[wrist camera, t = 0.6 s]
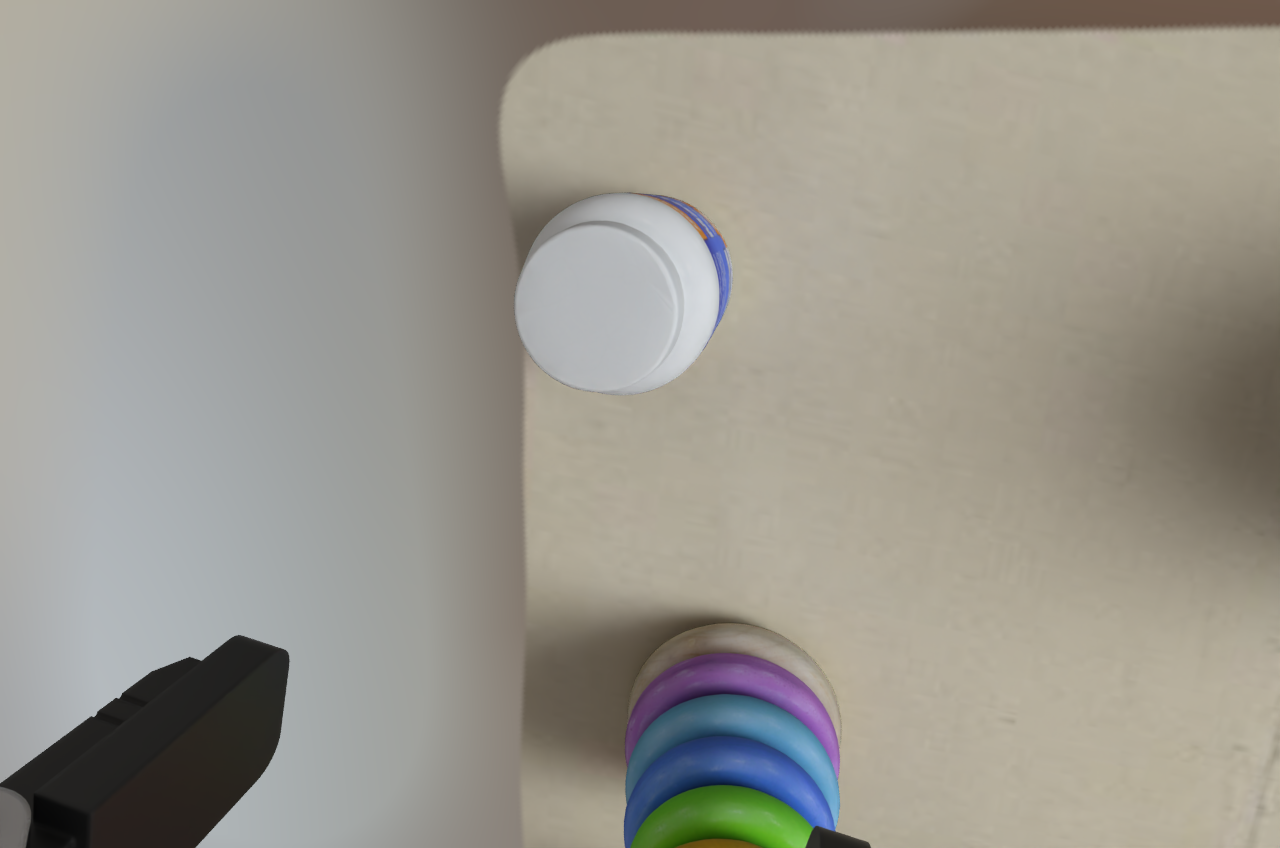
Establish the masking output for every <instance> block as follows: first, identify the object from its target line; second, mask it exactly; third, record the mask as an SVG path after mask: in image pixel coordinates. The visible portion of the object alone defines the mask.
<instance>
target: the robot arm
mask: <svg viewBox="0 0 1280 848" xmlns="http://www.w3.org/2000/svg"><path fill="white" fill-rule="evenodd" d="M288 670H289V655H288V652H287V651H286V650H284V649H281V648H278V647H275V646H272V645H269V644H266V643H263V642H260V641H257V640H254V639H251V638H248V637H244V636H241V635H238V636H234V637H232V638H231V639H229V640H228V641H227V642H225V643H224V644H223V645H222V646H220V647H219V648H218V649H216V650H215V651H214V652H213V653H211V654H210V655H209V656H207V657H206V658H205V659H204V660H202V661H200V660H197V659H194V658H191V657H189V658H186V659H183V660H181V661H178V662H175V663H173V664H170V665H168V666H165V667H163V668H160V669H158V670H155V671H152V672H150V673H149V674H148V675H146V676H145V677H144V678H142V679H141V680H140V681H138V682H137V683H136V684H134V685H133V686H131V687H130V688H129V689H127V690H126V691H125V692H124V693H122V695H121V697H120V698H119V699H118V698H115V699H114V700H113V701H111V702H110V703H108V704H107V705H106V706H105V707H103V708H102V709H100V710H99V711H98V712H97V715H96V716H95V717H92V716H91V717H90V718H88V719H87V720H85V721H84V722H83V723H81V724H80V725H79V726H77V727H76V728H75V729H73V730H72V731H71V732H69V733H68V734H67V735H66V736H64V737H62V738H61V739H60V740H58V741H57V742H56V743H54V744H53V745H52V746H50V747H49V748H48V749H46V750H45V751H44V752H42V753H41V754H40V755H38V756H37V757H35V758H34V759H33V760H31V761H30V762H29V763H27V764H26V765H25V766H23V767H22V768H21V769H19V770H18V771H16V772H15V773H14V774H13V775H11V776H10V777H9V778H7V779H6V780H4V781H3V782H2V783H0V848H195V847H196V846H197V845H198V844H199V843H200V842H201V841H202V840H203V839H204V838H205V837H206V835H207V834H208V833H209V832H210V831H211V830H212V829H213V828H214V827H215V826H216V824H217V823H218V822H219V821H220V820H221V819H222V818H223V817H224V816H225V815H226V814H227V813H228V812H229V811H230V809H231V808H232V807H233V806H234V805H235V804H236V803H237V802H238V801H239V800H240V799H241V797H242V796H243V795H244V794H245V793H246V792H247V791H248V790H249V789H250V788H251V787H252V785H253V784H254V783H255V782H256V781H257V780H258V779H259V778H260V777H261V775H262V774H263V772H264V771H265V769H266V768H267V766H268V765H269V763H270V761H271V759H272V757H273V755H274V753H275V750H276V748H277V745H278V742H279V738H280V733H281V725H282V717H283V709H284V701H285V694H286V685H287V678H288ZM805 848H871V847H870V844H869V843H868V842H866V841H863V840H859V839H856V838H853V837H850V836H847V835H844V834H841V833H838V832H835V831H832V830H829V829H826V828H823V827H820V826H815V827H814V828H813V830H812V832H811V834H810V837H809V839H808V842H807V844H806V847H805Z"/></svg>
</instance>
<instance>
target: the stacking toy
mask: <svg viewBox="0 0 1280 848" xmlns="http://www.w3.org/2000/svg"><path fill="white" fill-rule="evenodd" d="M841 731H842V725H841V715H840V710H839V705H838V702H837V698H836V695H835V693H834V690H833V688H832V686H831V684H830V682H829V680H828V679H827V677H826V676H825V674H824V672H823V671H822V670H821V668H820V667H819V666H818V665H817V664H816V662H815V661H814V660H813V659H812V658H811V657H810V656H809V655H808V654H807V653H806V652H805V651H804V650H802V649H801V648H800V647H798V646H797V645H795V644H794V643H792V642H791V641H789V640H788V639H786V638H784V637H782V636H780V635H778V634H777V633H774V632H772V631H769V630H767V629H764V628H760V627H757V626H751V625H746V624H737V623H723V624H712V625H707V626H702V627H697V628H694V629H691V630H688V631H686V632H683V633H681V634H679V635H677V636H675V637H673V638H671V639H670V640H668V641H667V642H665V643H664V644H663V645H661V646H660V647H659V648H658V649H657V650H656V651H655V652H654V653H653V654H652V655H651V656H650V657H649V658H648V659H647V661H646V662H645V664H644V665H643V666H642V668H641V670H640V672H639V673H638V675H637V677H636V680H635V682H634V685H633V687H632V691H631V695H630V699H629V706H628V725H627V730H626V737H625V757H626V763H627V774H626V801H627V807H626V812H625V819H624V841H625V848H805V847H806V844H807V842H808V839H809V837H810V834H811V832H812V830H813V828H814V827H815V826H820V827H823V828H826V829H829V830H832V831H835V829H836V825H837V821H838V816H839V809H840V796H839V787H838V781H837V780H838V775H839V766H840V754H839V749H840V743H841ZM835 832H836V831H835Z"/></svg>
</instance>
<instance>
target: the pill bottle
mask: <svg viewBox="0 0 1280 848" xmlns="http://www.w3.org/2000/svg"><path fill="white" fill-rule="evenodd" d="M732 281H733V271H732V262H731V258H730V254H729V250H728V247H727V245H726V243H725V241H724V239H723V237H722V235H721V233H720V232H719V230H718V229H717V228H716V226H715V225H714V224H713V223H712V222H711V220H710V219H709V218H708V217H706V216H705V215H704V214H703V213H702V212H700V211H699V210H698V209H696V208H695V207H693V206H691V205H689V204H688V203H685V202H683V201H681V200H678V199H675V198H672V197H667V196H661V195H650V194H637V193H609V194H601V195H597V196H592V197H589V198H586V199H583V200H581V201H579V202H576V203H574V204H572V205H570V206H569V207H567V208H566V209H564V210H563V211H561V212H560V213H558V214H557V215H556V216H555V217H554V218H552V219H551V220H550V221H549V222H548V223H547V224H546V225H545V227H544V228H543V229H542V230H541V232H540V233H539V235H538V236H537V238H536V239H535V241H534V243H533V245H532V247H531V249H530V251H529V253H528V256H527V258H526V261H525V264H524V266H523V269H522V271H521V273H520V275H519V278H518V281H517V285H516V290H515V296H514V315H515V322H516V326H517V330H518V333H519V336H520V339H521V341H522V343H523V346H524V347H525V349H526V351H527V352H528V354H529V355H530V357H531V358H532V359H533V361H534V362H535V363H536V364H537V365H538V366H539V367H540V368H541V369H542V370H543V371H544V372H545V373H547V374H548V375H549V376H551V377H552V378H554V379H555V380H557V381H559V382H560V383H562V384H564V385H567V386H569V387H572V388H575V389H578V390H583V391H589V392H598V393H603V394H610V395H633V394H639V393H644V392H648V391H651V390H654V389H657V388H659V387H661V386H663V385H665V384H667V383H669V382H670V381H672V380H674V379H675V378H677V377H678V376H679V375H681V374H682V373H683V372H684V371H685V370H686V369H687V368H688V367H689V366H690V365H691V364H692V363H693V362H694V361H695V360H696V359H697V358H698V356H699V355H700V354H701V352H702V351H703V349H704V348H705V347H706V345H707V343H708V341H709V339H710V338H711V336H712V334H713V332H714V331H715V329H716V327H717V326H718V324H719V322H720V320H721V318H722V316H723V314H724V312H725V310H726V308H727V305H728V302H729V299H730V295H731V290H732Z"/></svg>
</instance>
